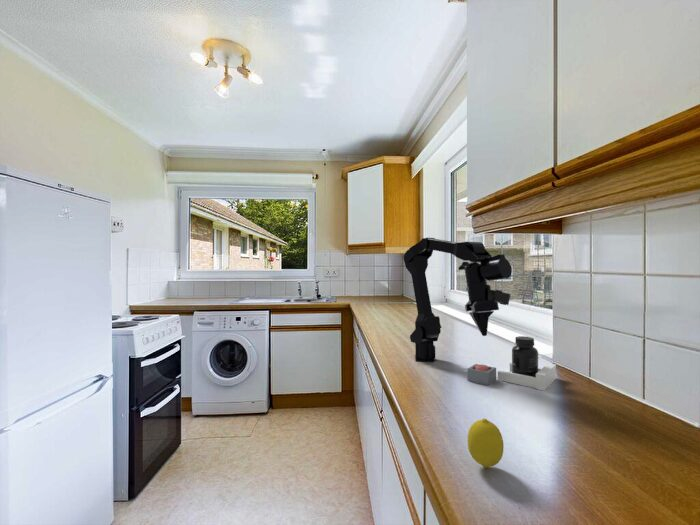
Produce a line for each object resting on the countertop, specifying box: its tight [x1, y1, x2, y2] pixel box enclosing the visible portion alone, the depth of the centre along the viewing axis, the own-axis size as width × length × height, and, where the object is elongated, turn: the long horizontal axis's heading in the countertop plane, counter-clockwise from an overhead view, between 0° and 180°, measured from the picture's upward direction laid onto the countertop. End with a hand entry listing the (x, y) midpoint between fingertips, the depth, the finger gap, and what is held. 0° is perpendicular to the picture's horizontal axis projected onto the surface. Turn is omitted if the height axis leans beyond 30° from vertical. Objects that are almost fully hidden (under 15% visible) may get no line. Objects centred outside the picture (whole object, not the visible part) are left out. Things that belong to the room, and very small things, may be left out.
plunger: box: [474, 363, 488, 371], centre depth 98 cm, size 4×4×4 cm
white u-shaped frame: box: [497, 362, 557, 391], centre depth 99 cm, size 12×13×4 cm
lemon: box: [467, 417, 504, 469], centre depth 56 cm, size 6×6×8 cm
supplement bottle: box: [511, 335, 539, 377], centre depth 99 cm, size 7×7×12 cm
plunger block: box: [466, 363, 497, 386], centre depth 98 cm, size 6×6×4 cm
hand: (484, 335), depth 100 cm, fingers closed
